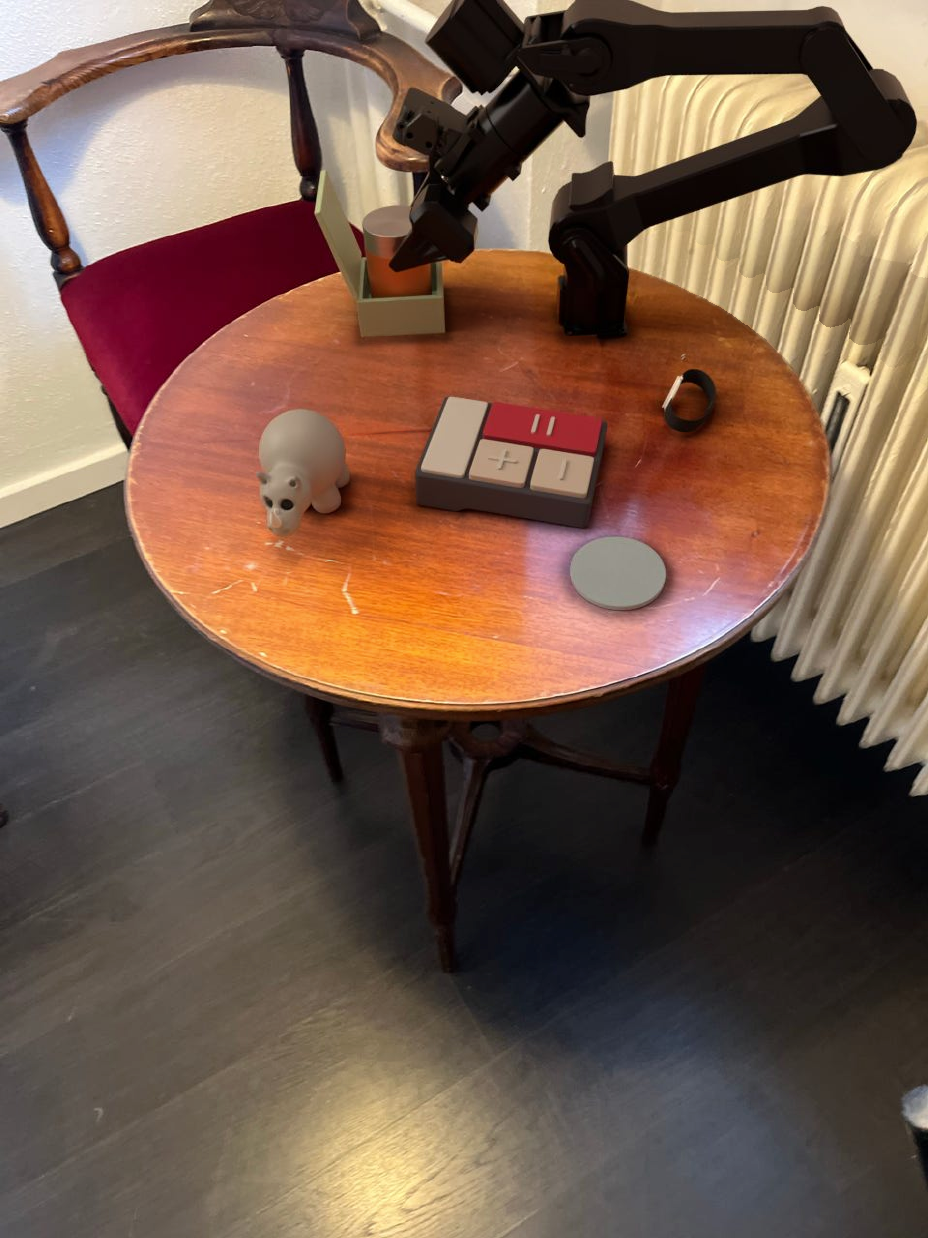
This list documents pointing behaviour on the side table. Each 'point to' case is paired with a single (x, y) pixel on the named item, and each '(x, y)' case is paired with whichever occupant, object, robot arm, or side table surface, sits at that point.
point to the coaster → (618, 573)
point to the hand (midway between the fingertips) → (399, 244)
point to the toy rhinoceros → (300, 468)
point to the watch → (687, 377)
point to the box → (401, 309)
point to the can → (391, 255)
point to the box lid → (338, 233)
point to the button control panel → (511, 461)
